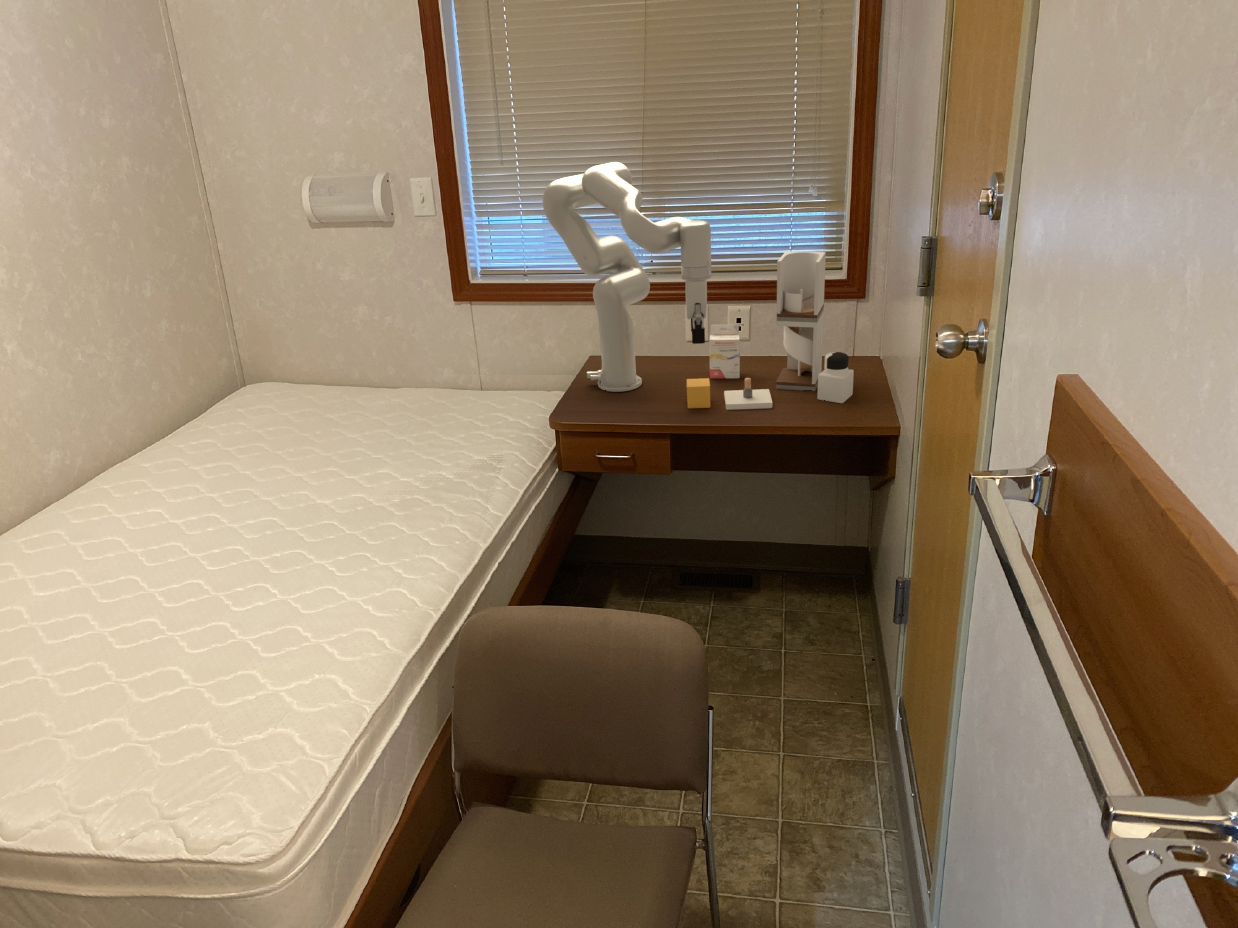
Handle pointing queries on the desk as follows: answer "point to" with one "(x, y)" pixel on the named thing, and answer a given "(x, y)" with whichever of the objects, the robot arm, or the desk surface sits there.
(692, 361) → the desk surface
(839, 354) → the medicine bottle
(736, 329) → the ink cartridge box
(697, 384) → the orange cube block
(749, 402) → the mount plate
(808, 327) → the spiral ramp tower
